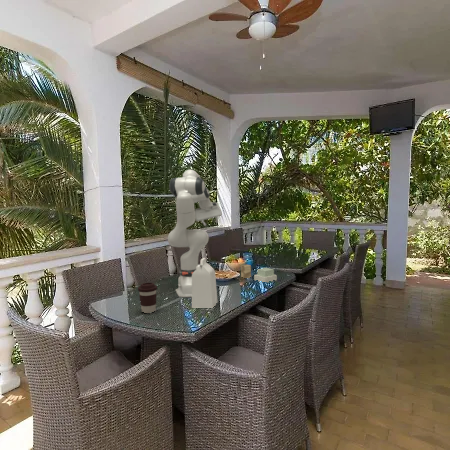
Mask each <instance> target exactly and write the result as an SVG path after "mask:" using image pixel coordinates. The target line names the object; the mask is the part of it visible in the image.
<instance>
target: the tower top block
mask: <svg viewBox="0 0 450 450" xmlns="http://www.w3.org/2000/svg"><path fill="white" fill-rule="evenodd" d="M256 271H257V274H258V275H259V276H263V277H268V276H272V275H275V270H274V269H273V268H269V267H262V268H259V269H257V270H256ZM257 274H256V275H257Z"/></svg>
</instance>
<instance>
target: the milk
mask: <svg viewBox="0 0 450 450" xmlns="http://www.w3.org/2000/svg"><path fill="white" fill-rule="evenodd" d="M199 261H200V263H199V264H198V266H197V267H196V270H195V271H194V272H193V273H192V297H191V309H192V308H213V307H214V306H216V305H217V304H218V292H217V291H218V290H217V281H216V280H217V279H216V271H215V269H214V268H213V267H212V266H211V265H210V264H209V263H208V262H207V258H206V257H203V258H201V259H200V260H199ZM216 303H217V304H216ZM214 308H215V307H214ZM214 308H213V309H214Z"/></svg>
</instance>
